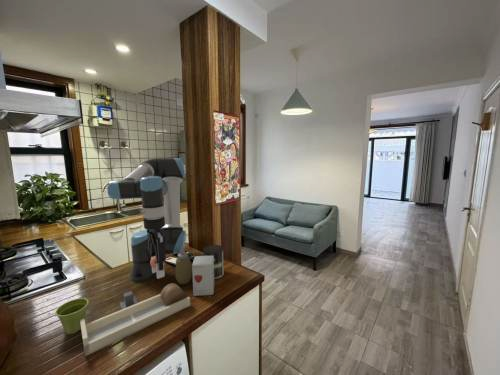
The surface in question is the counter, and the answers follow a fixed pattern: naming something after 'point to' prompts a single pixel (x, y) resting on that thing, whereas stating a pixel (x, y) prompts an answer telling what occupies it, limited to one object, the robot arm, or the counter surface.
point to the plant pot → (72, 314)
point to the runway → (126, 322)
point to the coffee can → (216, 259)
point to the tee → (128, 300)
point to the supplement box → (203, 275)
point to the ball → (153, 262)
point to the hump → (172, 294)
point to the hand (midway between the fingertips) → (158, 274)
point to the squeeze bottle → (183, 268)
